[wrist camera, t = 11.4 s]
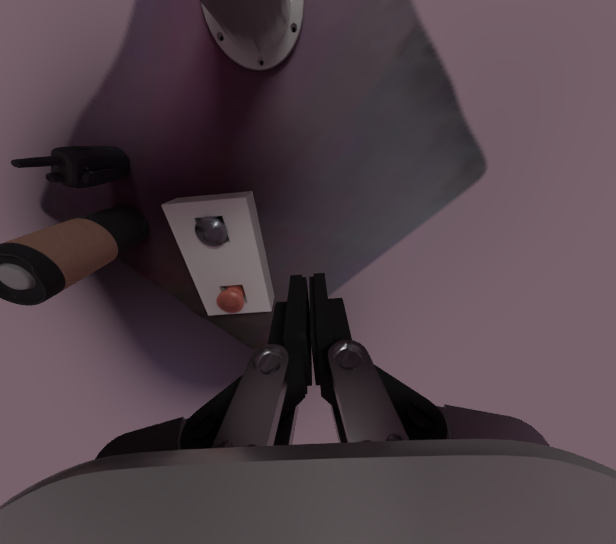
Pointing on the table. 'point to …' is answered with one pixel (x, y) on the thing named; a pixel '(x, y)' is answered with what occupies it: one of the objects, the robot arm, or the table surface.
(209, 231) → the metal button
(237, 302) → the red button
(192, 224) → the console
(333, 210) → the table surface
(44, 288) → the travel mug
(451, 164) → the table surface
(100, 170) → the two-way radio
